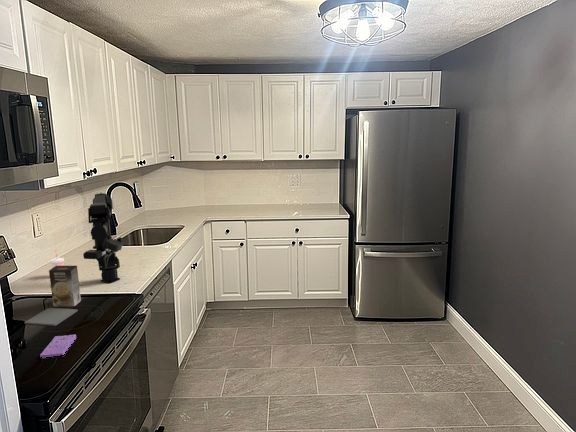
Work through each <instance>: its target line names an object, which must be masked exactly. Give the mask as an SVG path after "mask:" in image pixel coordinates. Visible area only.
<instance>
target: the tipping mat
mask: <svg viewBox="0 0 576 432" xmlns="http://www.w3.org/2000/svg"><path fill="white" fill-rule="evenodd" d="M77 312H78V309H73V308H58V307H57V308H56V307H48V308H46V309H45V310H42V311H41V312H39V313H37V314H36V315H34V316H33V317H31V318H29V319H28V320H26V321H24V324H26V325H37V326H39V325H40V326H53V327H54V326H55V327H56V326H57V325H59V324H61V323H62V322H64V321H65V320H67V319H68V318H70V317H72V315H74V314H76V313H77Z"/></svg>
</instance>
